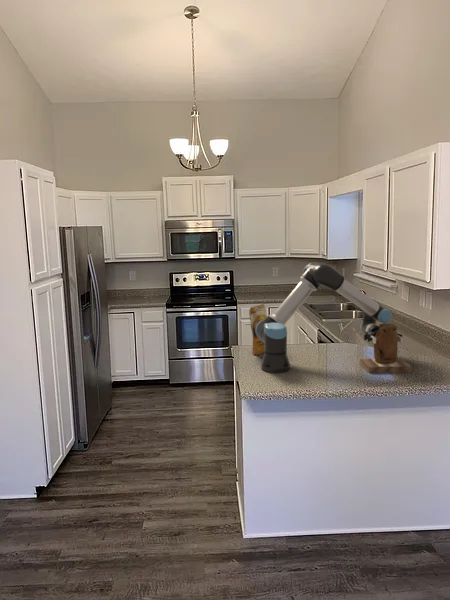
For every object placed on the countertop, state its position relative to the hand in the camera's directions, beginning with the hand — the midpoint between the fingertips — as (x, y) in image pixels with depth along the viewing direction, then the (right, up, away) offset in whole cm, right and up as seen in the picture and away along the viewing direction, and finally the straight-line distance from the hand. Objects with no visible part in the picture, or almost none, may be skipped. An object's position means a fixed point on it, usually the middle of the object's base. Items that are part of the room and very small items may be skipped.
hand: (388, 340), depth 241 cm
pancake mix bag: (-63, -10, +41) cm, 76 cm away
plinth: (0, -15, +6) cm, 16 cm away
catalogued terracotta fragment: (0, -12, +5) cm, 13 cm away
